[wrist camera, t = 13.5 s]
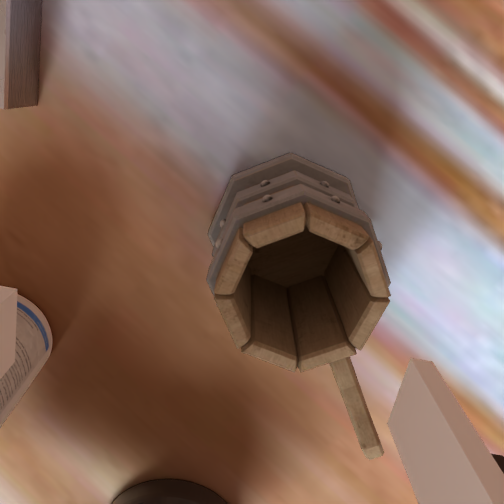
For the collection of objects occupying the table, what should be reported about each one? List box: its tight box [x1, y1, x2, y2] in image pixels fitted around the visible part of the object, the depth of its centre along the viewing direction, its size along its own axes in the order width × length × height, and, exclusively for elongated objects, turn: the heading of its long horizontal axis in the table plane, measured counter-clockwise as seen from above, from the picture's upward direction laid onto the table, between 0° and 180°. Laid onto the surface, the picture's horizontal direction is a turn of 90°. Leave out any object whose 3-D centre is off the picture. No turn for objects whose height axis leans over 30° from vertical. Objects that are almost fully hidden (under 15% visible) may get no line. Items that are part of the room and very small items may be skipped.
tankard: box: [206, 152, 391, 460], centre depth 37 cm, size 20×13×15 cm, turn 21°
